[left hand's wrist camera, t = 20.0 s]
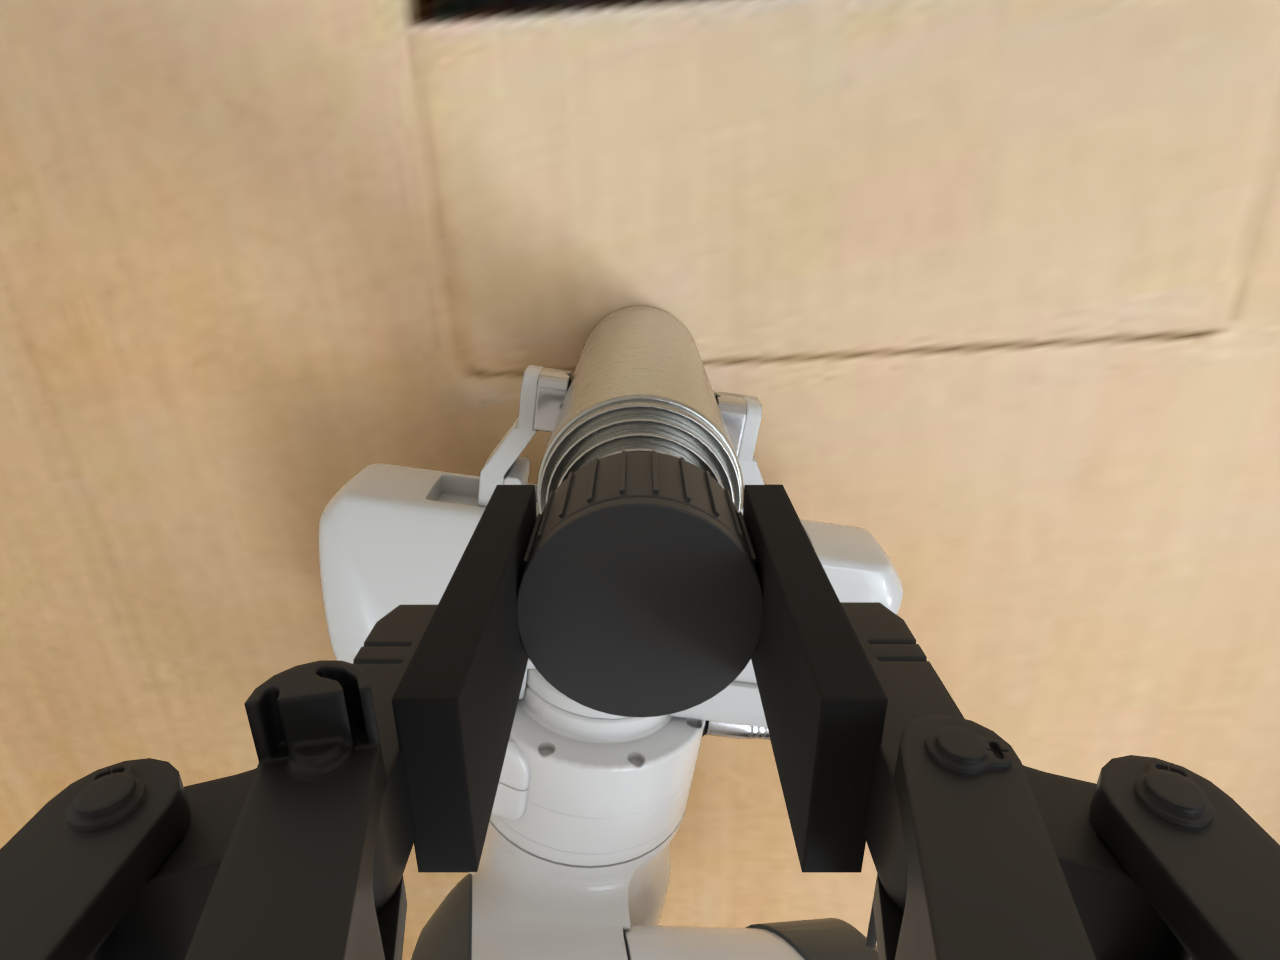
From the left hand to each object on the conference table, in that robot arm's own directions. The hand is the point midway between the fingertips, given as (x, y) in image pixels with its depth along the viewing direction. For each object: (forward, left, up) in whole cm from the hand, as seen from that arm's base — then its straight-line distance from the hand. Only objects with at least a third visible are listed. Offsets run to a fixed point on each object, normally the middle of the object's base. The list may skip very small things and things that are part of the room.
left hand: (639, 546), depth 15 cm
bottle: (0, 0, -17) cm, 17 cm away
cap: (0, 0, 0) cm, 0 cm away
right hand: (-1, 0, -10) cm, 10 cm away
